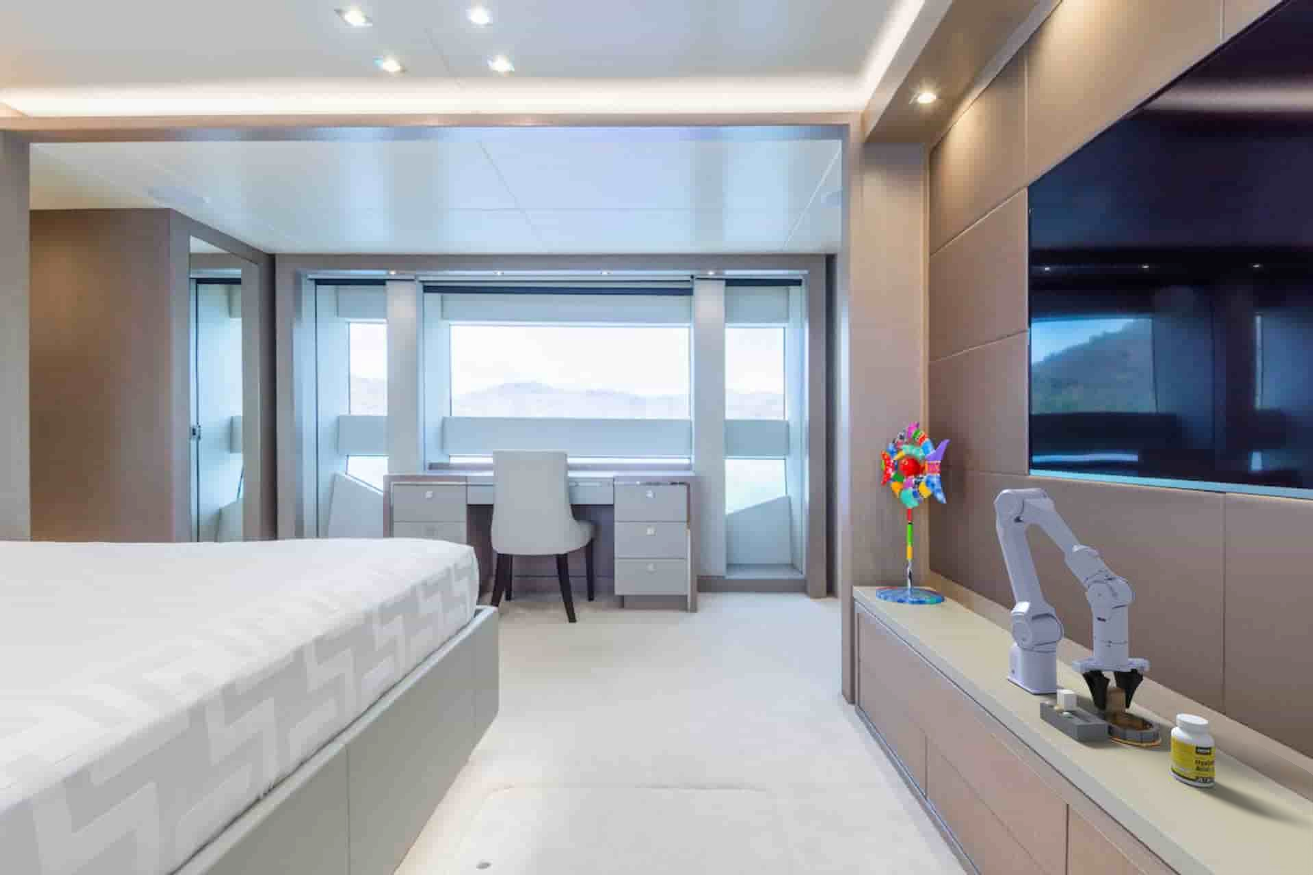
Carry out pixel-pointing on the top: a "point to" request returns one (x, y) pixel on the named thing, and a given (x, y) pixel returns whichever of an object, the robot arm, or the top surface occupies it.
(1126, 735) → the ring
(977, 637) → the top surface
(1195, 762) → the supplement bottle
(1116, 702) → the brown tapered cylinder
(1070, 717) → the switch box
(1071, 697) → the handle
